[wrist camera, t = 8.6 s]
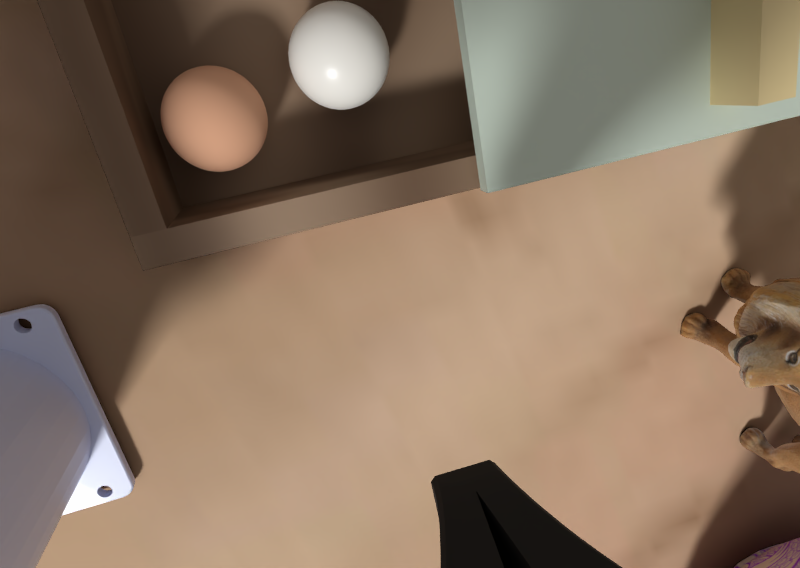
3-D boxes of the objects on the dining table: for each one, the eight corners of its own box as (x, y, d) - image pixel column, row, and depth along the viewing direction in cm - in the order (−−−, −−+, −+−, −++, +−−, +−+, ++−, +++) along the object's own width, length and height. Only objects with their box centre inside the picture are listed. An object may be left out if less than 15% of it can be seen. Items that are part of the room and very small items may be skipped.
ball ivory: (300, 117, 18) (305, 121, 15) (275, 18, 17) (276, 3, 14) (388, 98, 18) (408, 99, 16) (369, 0, 17) (387, -18, 15)
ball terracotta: (188, 174, 18) (173, 189, 15) (156, 78, 17) (133, 75, 14) (278, 154, 18) (280, 164, 16) (253, 59, 17) (249, 52, 14)
